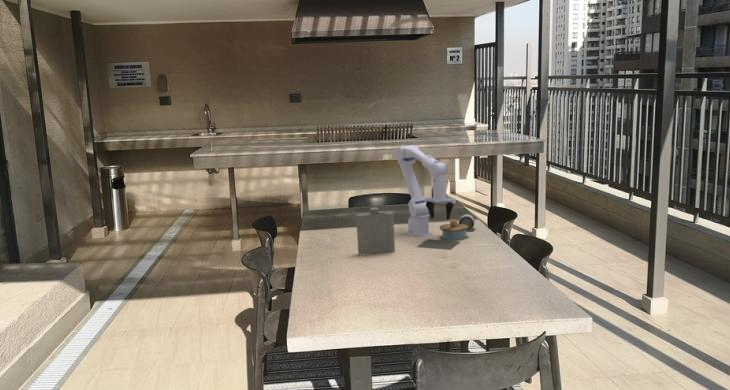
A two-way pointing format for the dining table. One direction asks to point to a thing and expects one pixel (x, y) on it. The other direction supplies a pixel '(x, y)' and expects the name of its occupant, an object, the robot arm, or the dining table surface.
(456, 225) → the walnut cover
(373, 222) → the hip flask
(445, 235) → the slate-blue bowl
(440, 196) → the robot arm
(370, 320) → the dining table surface
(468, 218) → the ceramic mug
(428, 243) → the rubber mat
